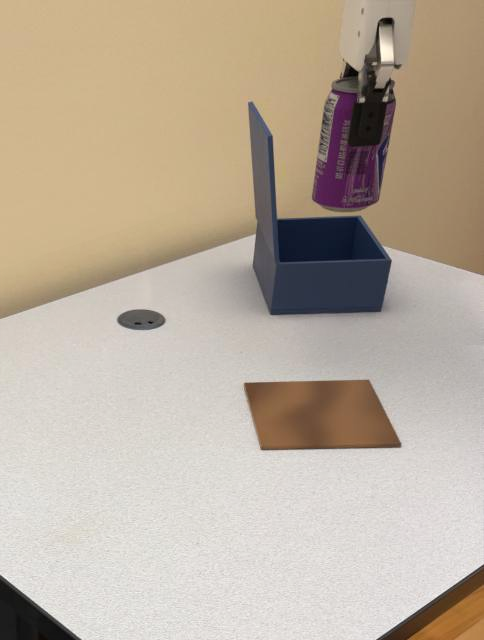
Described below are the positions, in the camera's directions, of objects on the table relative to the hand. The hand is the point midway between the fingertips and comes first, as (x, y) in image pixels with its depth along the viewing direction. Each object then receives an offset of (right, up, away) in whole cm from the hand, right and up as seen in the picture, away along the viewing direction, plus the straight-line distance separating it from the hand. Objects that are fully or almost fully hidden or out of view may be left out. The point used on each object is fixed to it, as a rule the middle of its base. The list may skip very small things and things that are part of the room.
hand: (355, 134), depth 94 cm
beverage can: (0, -6, +5) cm, 7 cm away
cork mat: (-3, -29, +2) cm, 29 cm away
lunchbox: (+4, -6, +29) cm, 30 cm away
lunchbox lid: (-4, +5, +20) cm, 21 cm away
